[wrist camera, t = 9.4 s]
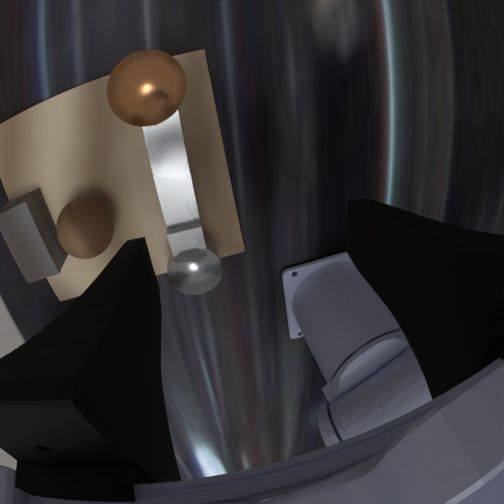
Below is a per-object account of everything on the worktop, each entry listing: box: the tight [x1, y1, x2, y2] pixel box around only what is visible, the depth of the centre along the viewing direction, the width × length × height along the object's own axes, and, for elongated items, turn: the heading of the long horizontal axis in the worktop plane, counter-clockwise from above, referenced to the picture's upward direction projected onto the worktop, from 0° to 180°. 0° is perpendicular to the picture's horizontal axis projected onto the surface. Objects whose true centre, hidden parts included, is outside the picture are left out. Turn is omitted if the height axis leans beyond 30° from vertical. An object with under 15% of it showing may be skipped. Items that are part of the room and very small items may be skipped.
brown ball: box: [56, 197, 114, 259], centre depth 17 cm, size 4×4×4 cm
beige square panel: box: [0, 49, 245, 301], centre depth 17 cm, size 14×14×3 cm
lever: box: [107, 50, 223, 295], centre depth 15 cm, size 14×3×6 cm, turn 7°
